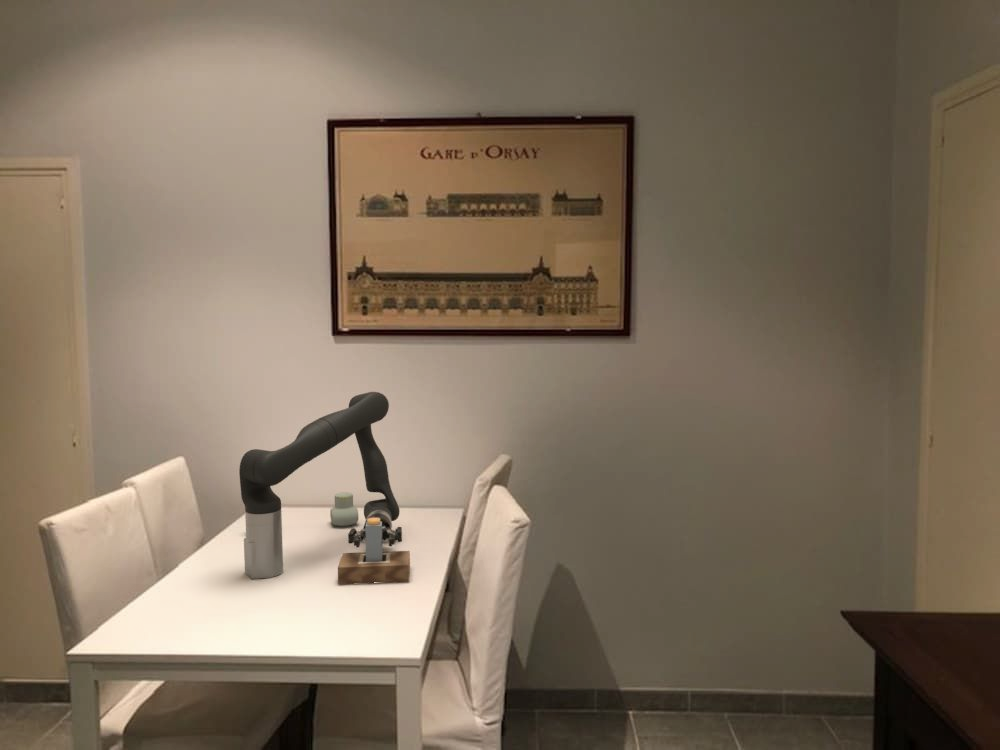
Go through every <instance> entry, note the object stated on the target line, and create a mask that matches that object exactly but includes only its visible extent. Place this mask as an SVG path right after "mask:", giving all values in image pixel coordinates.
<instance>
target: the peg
mask: <svg viewBox="0 0 1000 750" xmlns="http://www.w3.org/2000/svg"><path fill="white" fill-rule="evenodd" d="M365 531H366V543H365V552H366V562H382V561H383V552H384V549H383V542H382V522H380V518H368V519H367V523H366V526H365Z"/></svg>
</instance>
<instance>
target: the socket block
mask: <svg viewBox="0 0 1000 750" xmlns="http://www.w3.org/2000/svg"><path fill="white" fill-rule="evenodd" d="M410 552H411V551H410V550H398V551H397V550H394V551H393V550H392V551H383V561H382V562H366V551H363V552H362V551H361V552H343V553H342V554H341V557H340V560H339V563H338V566H337V585H338V584H341V585H355V584H354V583H368V584H375V583H374V582H396V583H409V582H410V571H411V570H410V568H411V561H410V560H411V557H410V556H411V555H410ZM408 581H409V582H408Z"/></svg>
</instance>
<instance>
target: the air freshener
mask: <svg viewBox="0 0 1000 750" xmlns="http://www.w3.org/2000/svg"><path fill="white" fill-rule="evenodd" d="M329 515H330V522H331V524H332V525H334V526H336V525H337V526H336V527H349V525H350V526H353V525H354V524H356V523H357V522H358V521H359V509H358V507H357V506H355V505H354V495H353V493H352V492H349V491H347V492H344V491H343V492H337V493H335V495H334V506H333V507H332V508H330V512H329Z"/></svg>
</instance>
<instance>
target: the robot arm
mask: <svg viewBox="0 0 1000 750" xmlns="http://www.w3.org/2000/svg"><path fill="white" fill-rule="evenodd" d="M348 402H349V403H348V407H346V408H344V409H341V410H338V411H334V412H332V413H329V414H326V415H323V416H321V417H318V418H317V419H315V420H313V421H311V423H308V424H306V425H305V426H303V428H301V430H300V431H299V432H298V434H297V436H296V437H295V439H294V441H292V442H291V443H290V444H288V445H285V446H284V447H282V448H279V449H276V450H265V449H257V448H255V449H250V450H248V451H246V452H245V453H244V454H243V456H242V457H241V460H240V462H239V463H240V464H239V473H238V475H239V485H240V495H241V502H243V505H244V512H245V513H244V515H245V516H244V517H245V538H243V552H244V553H243V554H244V560H243V561H244V574H246V576H248V577H249V578H250V579H251V580H254V579H268V578H274V577H277V576H279V575H281V574H282V573H284V555H283V553H284V551H283V550H284V549H283V521H282V519H283V518H282V499H281V498H280V497H279V496H278V495H277V494H276V493H275V492H274V491H273V489H272V487H273V486H276V485H278V484H280V483H281V482H283V481H284V480H286V479H287V478H288V477H289V476H290V475H292V474H293V473H294V472H295V471H297V470H298V469H299V468H301V467H302V466H304V465H305V464H307V463H309V462H311V461H313V460H314V459H315V458H317V457H318V456H321V455H323V454H325V453H326V452H327V451H330V450H331V449H333V448H335V447H336V446H337V445H339V444H341V443H342V442H344V441H345V440H346V439H349V437H351V436H352V435H354V436H355V439H356V442H357V445H358V449H359V452H360V455H361V460H362V467H363V473H364V479H365V487H366V490H367V491H368V492H369V493H379V494H382V495H383V496H384V497H385V498H380V499H376V500H374V499H373V500H370V501H367V502H366V503H365V505H364V507H363V517H364V518H365V522H364V525H363V528H362V529H360V530H357V529H356V528H354V527H353V528H350V530H349V532H348V534H347V536H348V541H347V542H348V544H350V545H351V544H353V546H355V548H360V545H361V544H366V531H365V526H366V523H367V519H368V518H380V522H382V543H387V544H388V547H392V546H393V545H395V544H396V541H397V542H398V543H401V542H403V529H402V527H400V526H398V527H397V528H395V529H392V528H393V525H392V522H394V521H396V520H397V519H398V518H399V516H400V507H399V504H398V502H397V500H396V498H395V496H394V495H395V494H394V493H393V490H392V487H391V483H390V476H389V472H388V471H389V470H388V464H387V461H386V458H385V456H384V454H383V452H382V451H381V449H380V448H379V446H378V444H377V442H376V441H375V438H374V435H373V430H372V425H373V424H374V423H377V422H379V421H382V420H383V419H384V418H385V417H387V414H388V412H389V408H390V403H389V400H388V397H386V395H384V394H383V393H381V392H378V391H367V392H365V393H360V394H357V395H354V396H353V397H352V398H351V399H350V400H349V401H348Z"/></svg>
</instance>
